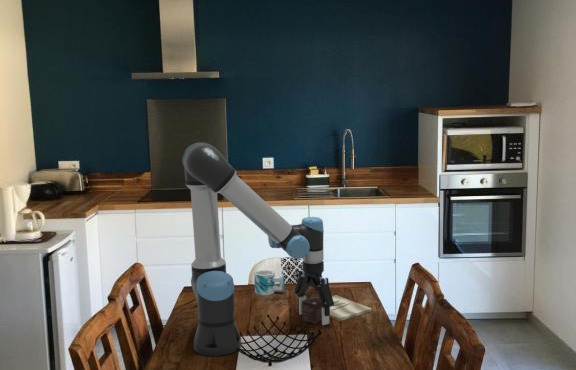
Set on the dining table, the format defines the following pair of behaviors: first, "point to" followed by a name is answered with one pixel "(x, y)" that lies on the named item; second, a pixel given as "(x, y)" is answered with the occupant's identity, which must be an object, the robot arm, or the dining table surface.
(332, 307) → the board
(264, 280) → the mug
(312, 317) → the box
